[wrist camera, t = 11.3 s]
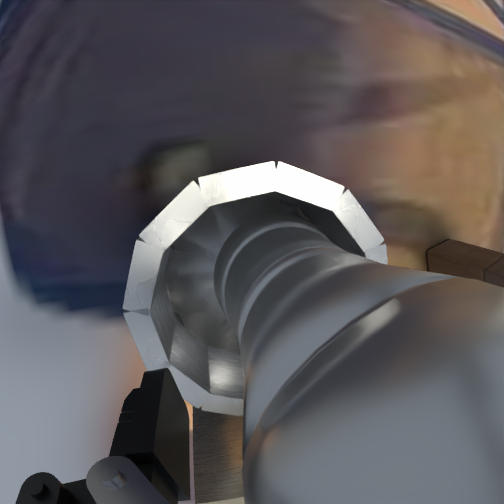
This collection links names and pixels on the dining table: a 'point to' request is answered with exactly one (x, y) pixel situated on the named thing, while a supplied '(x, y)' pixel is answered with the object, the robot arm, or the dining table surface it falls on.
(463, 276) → the wooden wedge with rod
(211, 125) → the dining table surface
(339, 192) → the ring
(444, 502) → the plastic bottle
